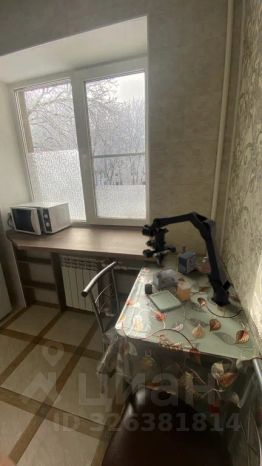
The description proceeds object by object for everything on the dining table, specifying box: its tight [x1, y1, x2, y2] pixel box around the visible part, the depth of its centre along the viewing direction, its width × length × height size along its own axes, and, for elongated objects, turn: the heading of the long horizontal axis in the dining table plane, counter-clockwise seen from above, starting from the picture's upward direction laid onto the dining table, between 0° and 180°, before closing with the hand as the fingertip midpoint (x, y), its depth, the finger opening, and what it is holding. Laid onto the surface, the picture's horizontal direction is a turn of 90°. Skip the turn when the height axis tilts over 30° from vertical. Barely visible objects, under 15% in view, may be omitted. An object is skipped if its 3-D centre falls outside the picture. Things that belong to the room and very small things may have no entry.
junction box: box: [150, 268, 180, 291], centre depth 115 cm, size 7×13×6 cm, turn 112°
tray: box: [148, 289, 182, 313], centre depth 101 cm, size 12×11×1 cm
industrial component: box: [177, 244, 187, 258], centre depth 138 cm, size 9×7×12 cm
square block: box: [176, 281, 192, 302], centre depth 103 cm, size 5×5×7 cm
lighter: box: [201, 256, 211, 274], centre depth 124 cm, size 8×3×10 cm, turn 77°
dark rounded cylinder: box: [144, 283, 153, 296], centre depth 108 cm, size 4×4×4 cm
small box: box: [177, 250, 197, 275], centre depth 128 cm, size 11×6×10 cm, turn 135°
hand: (159, 264), depth 119 cm, fingers closed
